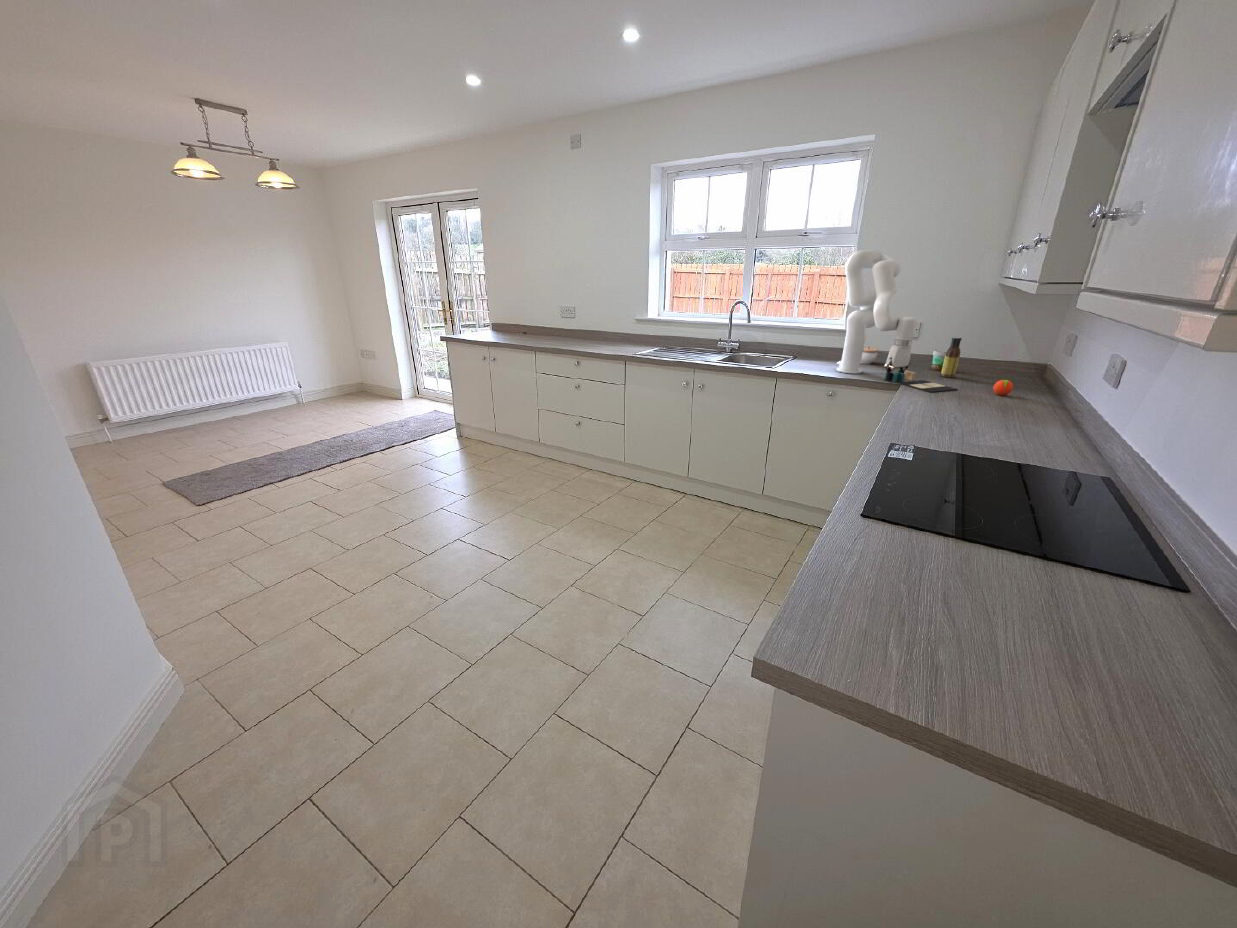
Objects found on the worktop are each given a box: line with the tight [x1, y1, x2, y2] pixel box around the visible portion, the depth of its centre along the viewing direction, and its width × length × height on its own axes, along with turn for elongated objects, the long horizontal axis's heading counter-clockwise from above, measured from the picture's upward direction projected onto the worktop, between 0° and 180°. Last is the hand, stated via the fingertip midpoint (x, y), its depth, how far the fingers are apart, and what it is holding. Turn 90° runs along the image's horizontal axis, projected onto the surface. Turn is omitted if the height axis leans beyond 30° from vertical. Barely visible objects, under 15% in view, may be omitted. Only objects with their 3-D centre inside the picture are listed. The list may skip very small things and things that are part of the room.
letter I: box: [904, 369, 917, 382], centre depth 243 cm, size 6×2×4 cm, turn 18°
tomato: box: [992, 379, 1014, 396], centre depth 215 cm, size 8×7×7 cm
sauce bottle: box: [940, 336, 962, 379], centre depth 246 cm, size 7×6×20 cm
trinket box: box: [860, 345, 879, 365], centre depth 280 cm, size 11×11×9 cm
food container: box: [931, 349, 947, 372], centre depth 262 cm, size 12×6×10 cm, turn 25°
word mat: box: [898, 379, 958, 394], centre depth 230 cm, size 18×16×1 cm
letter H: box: [883, 370, 905, 384], centre depth 240 cm, size 6×6×4 cm
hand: (894, 379), depth 241 cm, fingers closed on letter H, 6 cm apart
